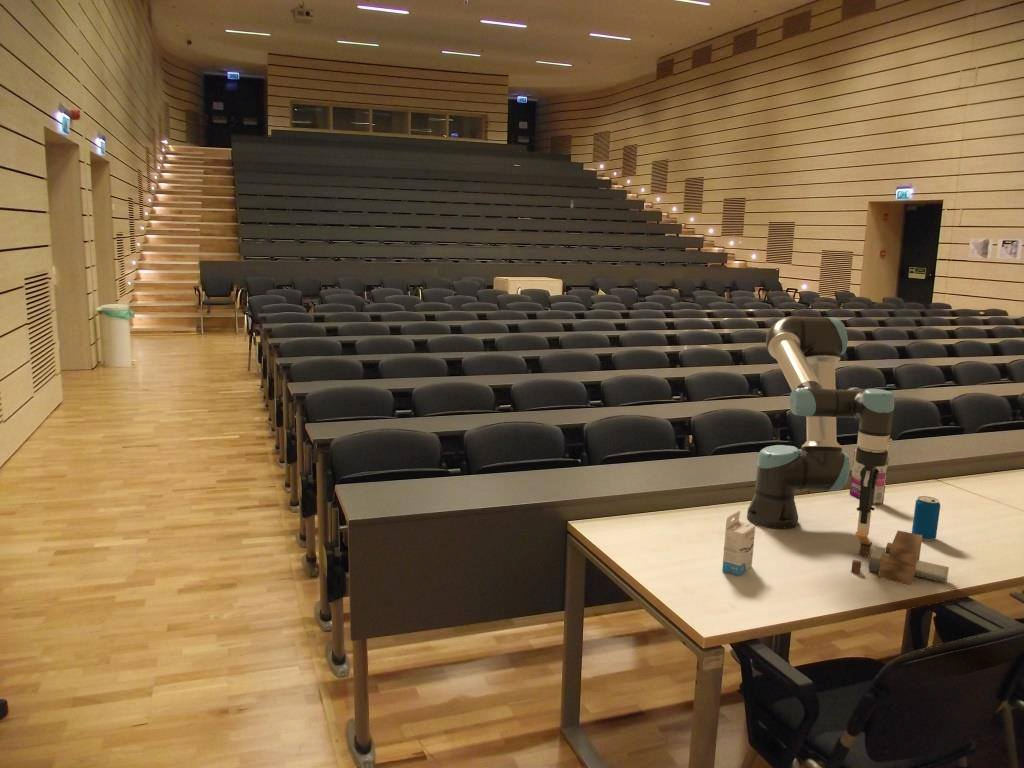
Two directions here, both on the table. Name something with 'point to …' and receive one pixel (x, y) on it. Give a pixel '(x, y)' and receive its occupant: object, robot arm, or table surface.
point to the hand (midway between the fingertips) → (862, 533)
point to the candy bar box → (879, 486)
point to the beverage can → (926, 517)
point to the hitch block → (896, 558)
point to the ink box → (738, 545)
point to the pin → (921, 569)
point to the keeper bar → (863, 538)
